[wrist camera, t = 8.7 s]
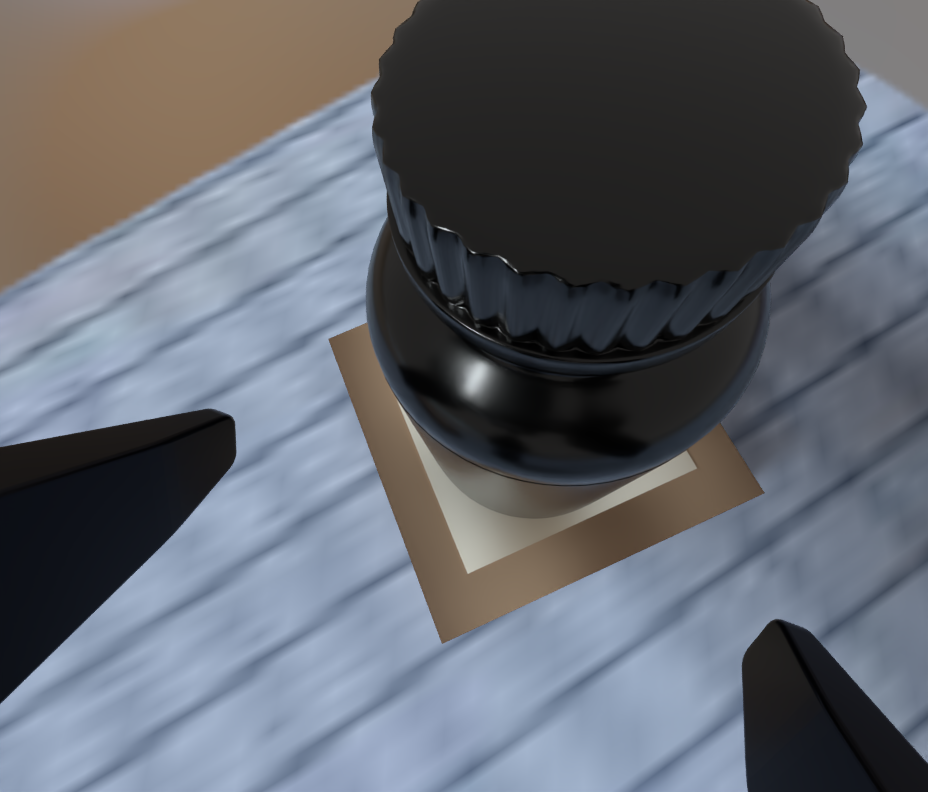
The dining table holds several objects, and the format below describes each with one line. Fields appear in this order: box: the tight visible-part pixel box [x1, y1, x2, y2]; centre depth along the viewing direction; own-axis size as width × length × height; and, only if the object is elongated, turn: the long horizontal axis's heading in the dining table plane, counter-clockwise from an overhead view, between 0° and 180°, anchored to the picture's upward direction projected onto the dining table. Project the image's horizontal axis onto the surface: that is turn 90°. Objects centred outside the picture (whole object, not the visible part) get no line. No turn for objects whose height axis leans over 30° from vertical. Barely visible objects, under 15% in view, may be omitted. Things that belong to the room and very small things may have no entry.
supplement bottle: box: [366, 0, 867, 519], centre depth 10 cm, size 7×7×12 cm
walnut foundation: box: [329, 323, 764, 644], centre depth 17 cm, size 11×11×3 cm
